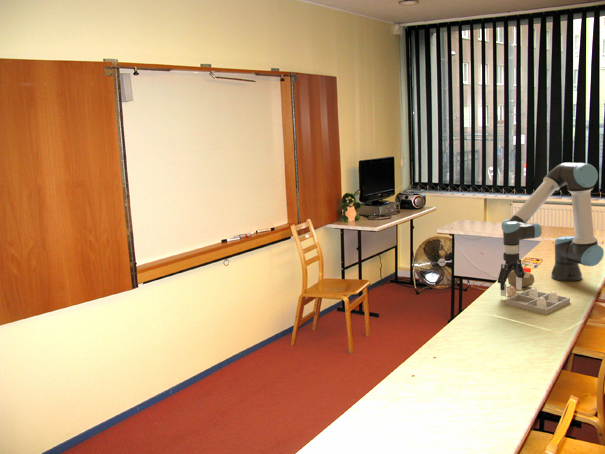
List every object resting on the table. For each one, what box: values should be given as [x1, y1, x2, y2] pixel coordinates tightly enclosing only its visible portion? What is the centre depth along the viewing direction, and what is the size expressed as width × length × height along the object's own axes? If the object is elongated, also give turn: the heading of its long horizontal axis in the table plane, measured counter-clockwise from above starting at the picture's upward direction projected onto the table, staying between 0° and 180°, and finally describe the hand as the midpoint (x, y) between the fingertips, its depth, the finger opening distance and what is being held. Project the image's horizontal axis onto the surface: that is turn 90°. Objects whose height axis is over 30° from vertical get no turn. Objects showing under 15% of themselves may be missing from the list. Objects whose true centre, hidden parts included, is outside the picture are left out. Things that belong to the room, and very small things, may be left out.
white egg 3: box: [548, 291, 559, 303], centre depth 252 cm, size 4×4×6 cm
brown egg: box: [506, 285, 517, 298], centre depth 268 cm, size 4×4×6 cm
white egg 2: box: [537, 297, 546, 309], centre depth 247 cm, size 4×4×6 cm
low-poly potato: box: [507, 270, 535, 288], centre depth 281 cm, size 15×11×12 cm
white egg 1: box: [529, 287, 538, 298], centre depth 260 cm, size 4×4×6 cm
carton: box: [504, 288, 571, 315], centre depth 254 cm, size 21×21×3 cm
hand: (511, 292), depth 268 cm, fingers open, 13 cm apart
